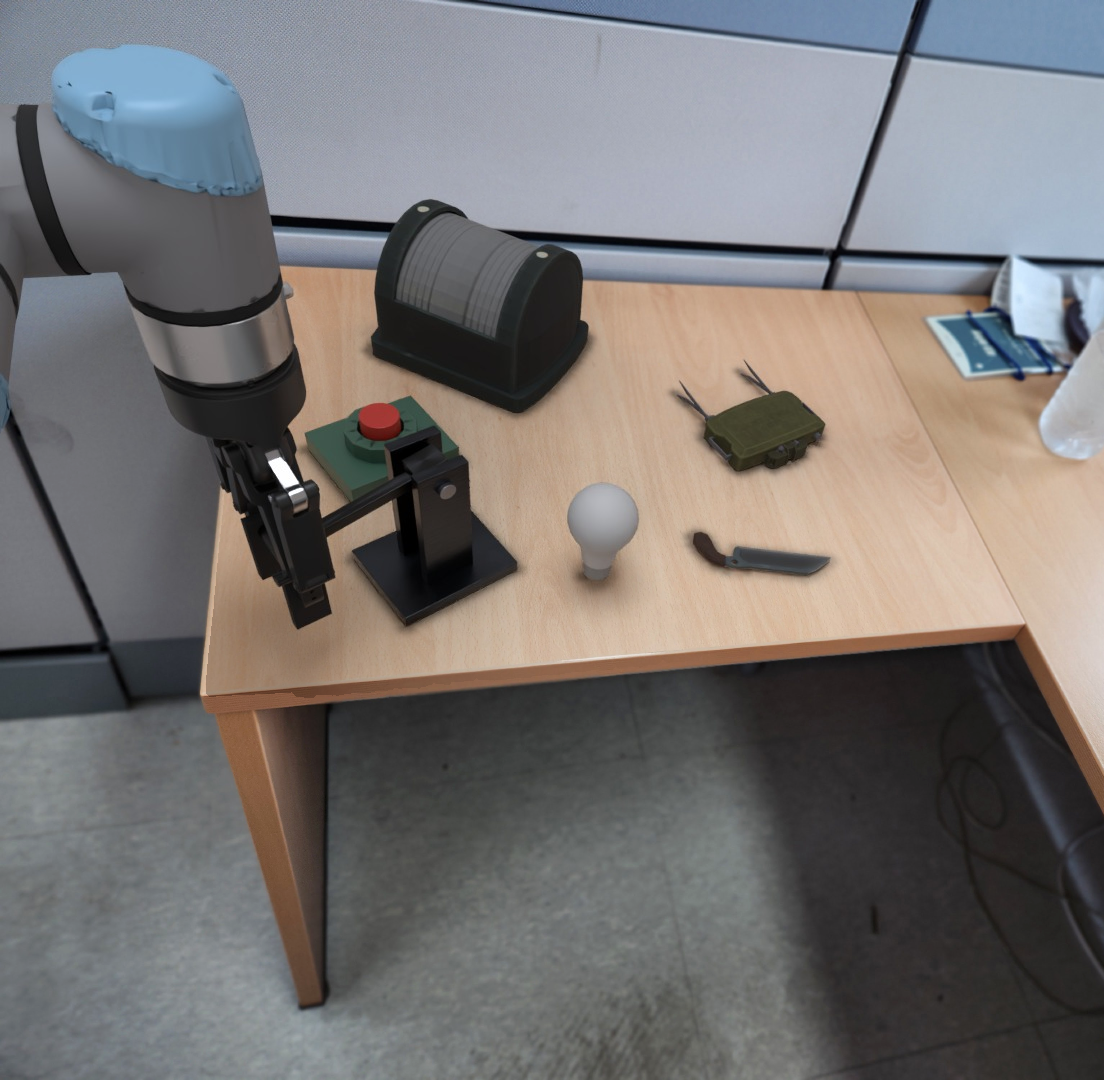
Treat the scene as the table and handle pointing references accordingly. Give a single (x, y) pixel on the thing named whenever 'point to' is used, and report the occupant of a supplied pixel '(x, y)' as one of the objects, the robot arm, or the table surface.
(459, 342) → the light fixture
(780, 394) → the landmine
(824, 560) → the knife
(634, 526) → the lightbulb
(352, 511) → the switch lever
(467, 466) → the switch bracket
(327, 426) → the button box
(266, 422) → the robot arm
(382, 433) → the button
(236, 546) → the table surface
